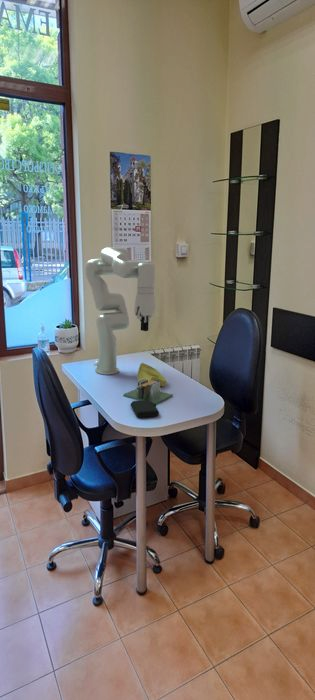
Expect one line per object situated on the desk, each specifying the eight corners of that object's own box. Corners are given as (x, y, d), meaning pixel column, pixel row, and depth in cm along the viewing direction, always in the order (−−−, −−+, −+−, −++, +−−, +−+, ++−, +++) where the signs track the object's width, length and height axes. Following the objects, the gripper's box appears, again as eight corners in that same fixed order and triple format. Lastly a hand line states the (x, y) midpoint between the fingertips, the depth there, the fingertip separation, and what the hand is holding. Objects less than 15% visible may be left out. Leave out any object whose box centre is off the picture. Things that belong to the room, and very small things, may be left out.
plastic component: (168, 382, 217) (151, 375, 213) (161, 395, 218) (144, 388, 214) (155, 368, 235) (139, 361, 231) (149, 380, 236) (133, 373, 232)
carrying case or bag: (162, 418, 181) (153, 405, 195) (162, 411, 180) (153, 398, 194) (136, 420, 178) (129, 406, 192) (137, 412, 177) (129, 400, 191)
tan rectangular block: (140, 394, 201) (140, 385, 200) (151, 389, 208) (152, 380, 207) (144, 395, 199) (144, 386, 198) (156, 390, 207) (156, 381, 206)
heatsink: (122, 396, 203) (122, 382, 201) (141, 387, 215) (141, 374, 213) (155, 405, 194) (155, 390, 192) (173, 395, 206) (173, 381, 204)
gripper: (148, 288, 209) (147, 327, 214) (128, 291, 197) (128, 331, 202) (161, 290, 205) (160, 329, 210) (142, 293, 193) (141, 334, 198)
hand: (144, 330), depth 206 cm, fingers closed
